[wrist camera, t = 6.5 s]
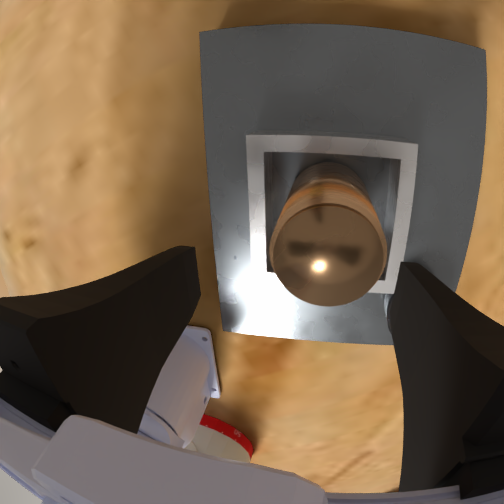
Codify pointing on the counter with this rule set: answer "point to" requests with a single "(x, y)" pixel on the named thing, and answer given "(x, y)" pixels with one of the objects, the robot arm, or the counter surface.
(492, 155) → the counter surface
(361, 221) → the shiny metal cylinder
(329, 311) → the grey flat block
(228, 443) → the white and red dome
